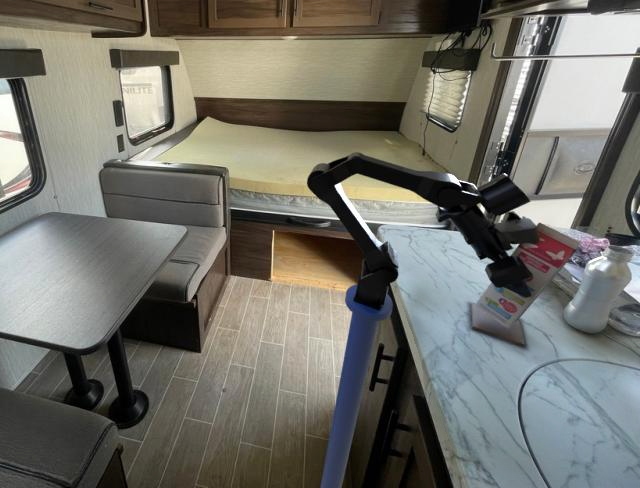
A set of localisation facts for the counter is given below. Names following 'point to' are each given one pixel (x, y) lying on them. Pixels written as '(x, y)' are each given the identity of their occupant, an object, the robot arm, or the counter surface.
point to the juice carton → (544, 267)
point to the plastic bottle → (599, 290)
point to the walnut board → (496, 327)
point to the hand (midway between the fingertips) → (519, 282)
